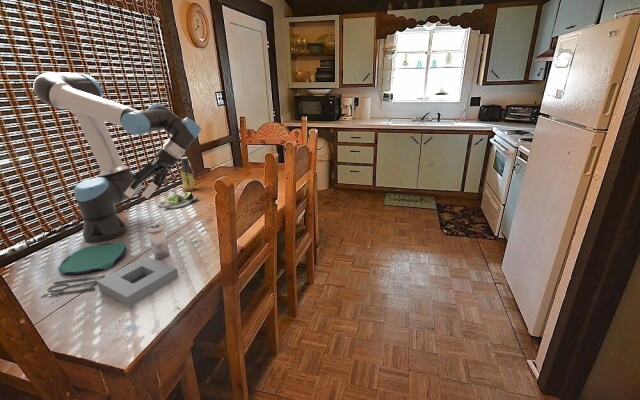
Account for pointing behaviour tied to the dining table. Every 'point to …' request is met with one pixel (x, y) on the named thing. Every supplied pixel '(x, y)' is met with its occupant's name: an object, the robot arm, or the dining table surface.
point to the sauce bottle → (187, 175)
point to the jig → (137, 280)
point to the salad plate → (177, 200)
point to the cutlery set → (88, 264)
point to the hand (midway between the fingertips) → (136, 196)
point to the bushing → (158, 240)
